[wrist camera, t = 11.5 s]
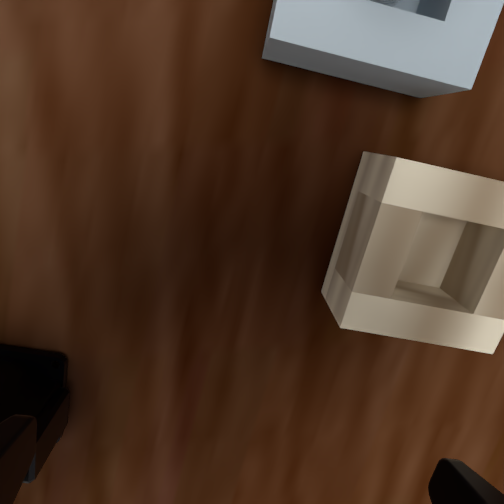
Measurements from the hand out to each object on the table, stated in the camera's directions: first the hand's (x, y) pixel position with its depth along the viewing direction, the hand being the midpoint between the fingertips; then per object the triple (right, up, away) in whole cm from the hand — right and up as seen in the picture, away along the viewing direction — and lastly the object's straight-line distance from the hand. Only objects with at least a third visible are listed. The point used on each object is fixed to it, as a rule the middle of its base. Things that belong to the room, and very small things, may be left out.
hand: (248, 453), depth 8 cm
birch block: (+9, +5, +12) cm, 16 cm away
